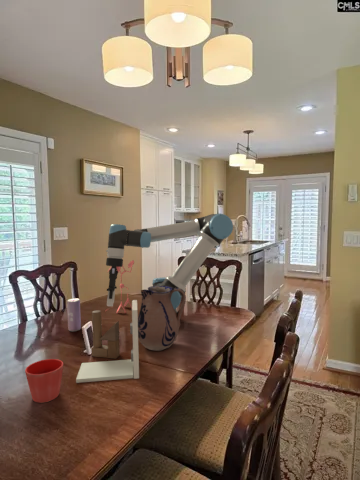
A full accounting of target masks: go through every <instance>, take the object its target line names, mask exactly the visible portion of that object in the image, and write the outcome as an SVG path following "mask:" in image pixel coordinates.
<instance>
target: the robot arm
mask: <svg viewBox="0 0 360 480" xmlns="http://www.w3.org/2000/svg"><path fill="white" fill-rule="evenodd" d="M233 230H234V223H233V220H232V219H231V217H229V216H228V215H226V214H225V213H211V214H208V215H205V216H201V217H196V218H195V219H194V220H190V221H189V220H188V221H183V222H177V223H171V224H165V225H159V226H151V227H146V228H141V229H138V228H137V229H134V230H131V229H130V230H129V229H127V226H126V225H124V224H118V223H116V224H115V223H114V224H113V223H112V224H111V225H110V227H109V230H108V231H109V233H108V242H107V249H106V250H105V252H106V253H107V254H106V256H107V258H106V260H105V265H106V266H107V267H111V266H112V267H111V269H110V268H109V269H110V270H109V269H108V270H109V271H108V280H109V281H108V287H107V288H106V291H107V299H106V306H107V307H114V303H115V296H116V295H115V294H116V290H117V289H118V288H117V287H118V286H116V283H117V282H116V281H117V279H118V275H119V273H118V271H117V267H122V266H123V267H124V259H123V258H124V255H125V254H124V253H125V247H133V248H142V249H146V248H147V249H148V248H150V246H151V243H154V242H160V241H161V242H162V241H167V240H168V241H169V240H173V239H180V238H185V237H191V236H197V237H198V239H197V240H196V241H195V243H194V244H193V245H192V246H191V249H190V250H189V251H188V252H187V253H186V255H185V257H184V258H183V259H182V261H181V262H180V264H179V265H178V266H177V267H176V269H175V270H174V271H173V273H172V275H171V276H170V275H169V276H166V277H165V276H164V277H156V278H155V277H154V278H153V279H152V286H167V287H171V288H180V289H182V290H183V291H184V292H185V293H186V292H187V289H186V286H187V285H188V284H189V282H190V281H191V280H192V279H193V277H194V276H195V274H196V273H197V271H198V270H199V269H200V268H201V266H202V265H203V264H204V263H205V260H206V259H207V258H208V256H209V255H210V253H211V252H212V251H213V249H214V248H215V247H219V246H220V245H221V244H222V243H223V241H224V240H225V239H228V237H230V236H231V234H232V233H233ZM123 267H122V268H123ZM171 303H172V305H173V308H174V310H175V312H176V313H177V312H178V310H177V308H179V307H180V305H181V303H182V295H181V293H180V292H178V291H176V292H173V293H172V296H171Z"/></svg>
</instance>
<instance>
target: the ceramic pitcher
mask: <svg viewBox="0 0 360 480" xmlns="http://www.w3.org/2000/svg"><path fill="white" fill-rule="evenodd" d="M176 291H178V292H180V293H181V295H182V297H181V302H180V305H179V309H178V310H177V313H176V312H175V310H174V308H173V305H172V303H171V296H172V293H173V292H176ZM140 293H141V305H140V308H139V314H138V342H139V343H140V344H141V345H142V346H143V347H144V348H146V349H148V350H150V351H157V352H159V351H163V350H166V349H169V348H170V347H171V346H172V345H173V344H174V343H175V341H176V340H177V337H178V335H179V330H180V329H179V328H180V327H181V316H182V314H183V311H184V309H185V306H186V300H187V296H186V292H184V291H183V290H182V289H180V288H171V287H167V286H153V285H152V286H149V287H147V289H141V290H140Z"/></svg>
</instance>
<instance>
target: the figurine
mask: <svg viewBox="0 0 360 480" xmlns="http://www.w3.org/2000/svg"><path fill="white" fill-rule="evenodd" d="M134 264H135V261H134V259H133V260H131V261H130V262H129V263H128V264H127V267H128V269H130V271H129V270H126V269H125V267H124V265H123V266H122V268H123V270H124V271H121V267H117V271H118V274H119V273H120V284H119V289H120V299H122V294H123V292H122V289H123V288H126V289H128V287H126V286H125V284H124V283H122V276H123V275H124V274H125V273H132V269H133V265H134ZM111 267H112V266H109V268H108V270H107V271H106V273H109V270H110V269H111ZM128 304H129V306H130V308H131V309H132V303H131V302H130V298H129V294H127V298H126V301H125V302H124V303H123V302H120V304H119V306H118V308H117V310H116V314H118V312H119V311H120V309H121V308H122V309H123V312H124V313H125V314H126V313H127V312H126V309H125V307H126V306H127V305H128ZM111 308H113V306H110V309H111ZM105 311H108V308H107V309H106V310H105Z"/></svg>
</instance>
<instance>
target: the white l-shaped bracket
mask: <svg viewBox="0 0 360 480" xmlns="http://www.w3.org/2000/svg"><path fill="white" fill-rule="evenodd" d="M131 306H132V308H131V320H132V321H131V322H130V325H129V326H130V327H129V328H130V335H132V349H131V350H130V359H119V360H116V359H115V360H108V361H107V360H105V361H93V362H92V361H90V362H82V363H81V365H80V367H79V370H78V373H77V375H76V379H75V383H76V384H80V383H90V382H91V383H93V382H100V381H102V382H103V381H112V380H116V381H117V380H127V379H135V380H136V379H140V362H139V359H140V358H139V356H140V355H139V339H138V317H139V314H138V300H137V299H133V300H132V301H131Z"/></svg>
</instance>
